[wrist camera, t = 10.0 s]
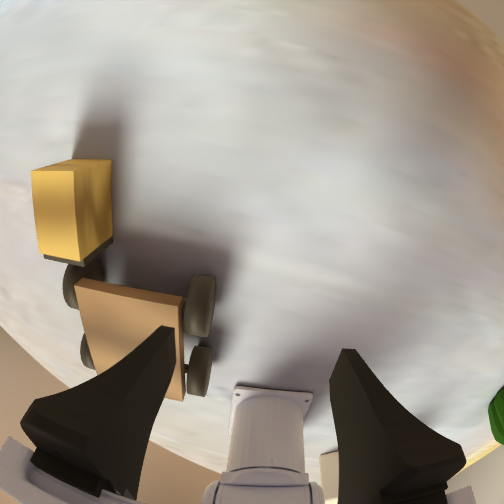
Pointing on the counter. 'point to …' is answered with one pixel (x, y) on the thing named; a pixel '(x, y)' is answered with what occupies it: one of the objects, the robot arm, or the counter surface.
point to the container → (330, 476)
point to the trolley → (141, 323)
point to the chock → (73, 209)
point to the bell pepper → (497, 417)
